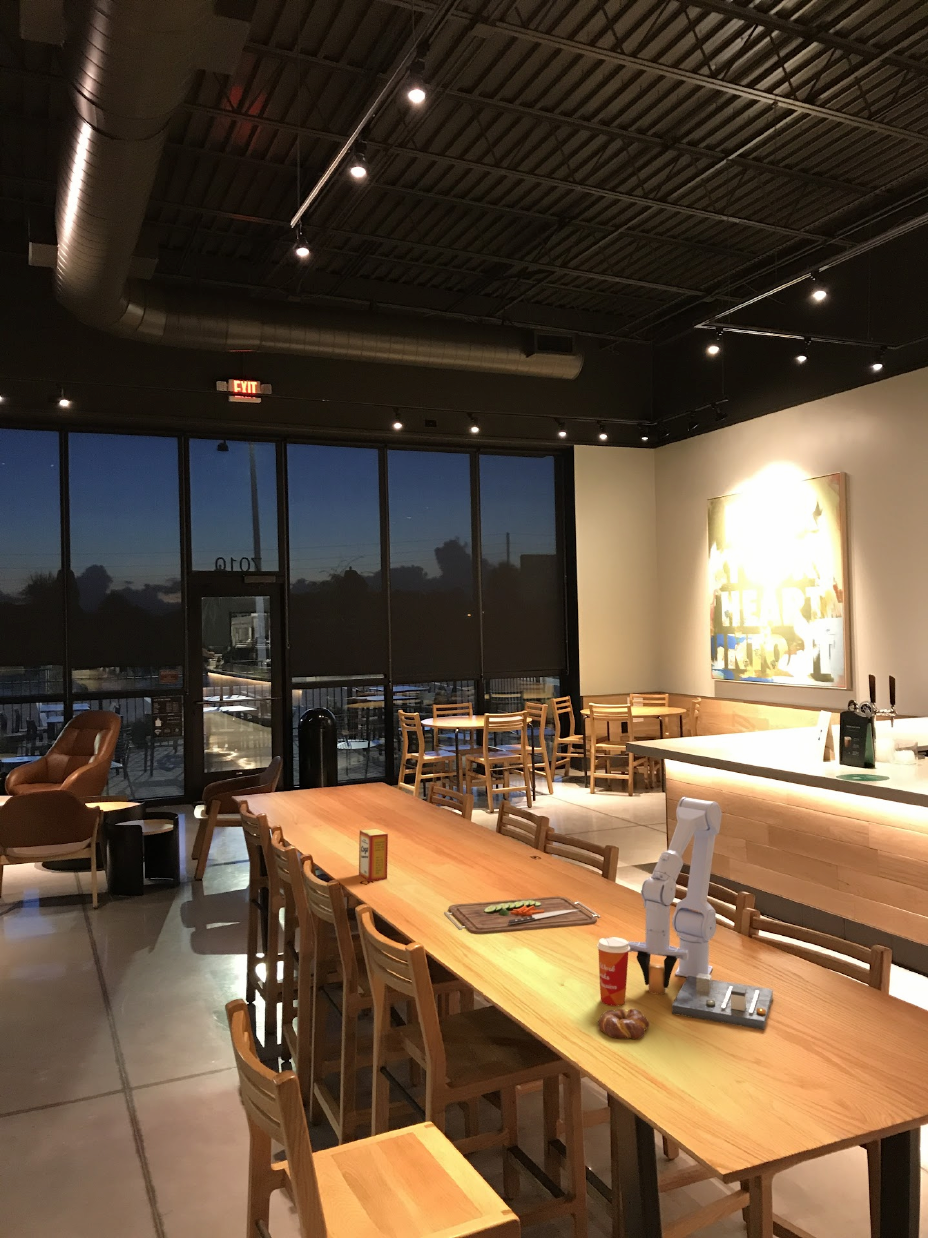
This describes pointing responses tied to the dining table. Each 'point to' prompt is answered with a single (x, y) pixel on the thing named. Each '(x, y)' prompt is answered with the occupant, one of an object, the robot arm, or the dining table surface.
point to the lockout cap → (656, 978)
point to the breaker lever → (738, 998)
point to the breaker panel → (722, 1002)
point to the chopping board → (521, 915)
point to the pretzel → (623, 1023)
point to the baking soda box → (373, 854)
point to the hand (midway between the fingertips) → (656, 985)
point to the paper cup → (613, 970)
